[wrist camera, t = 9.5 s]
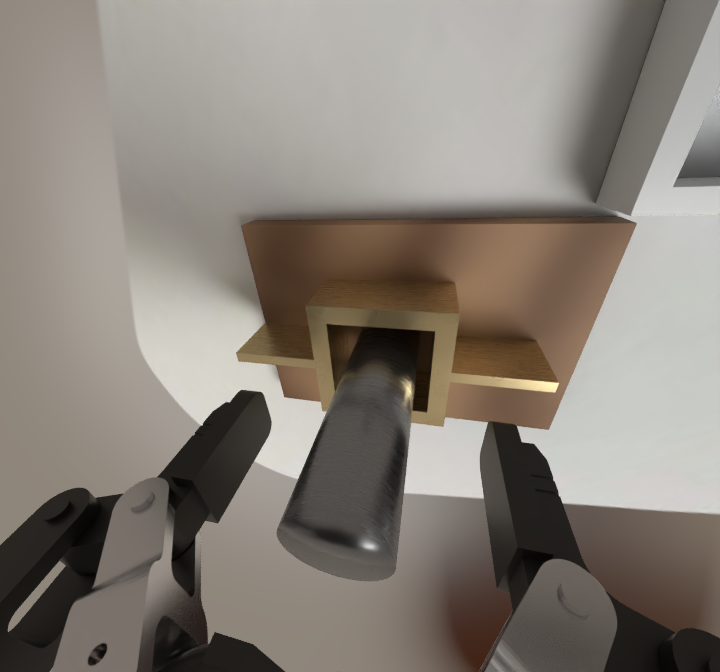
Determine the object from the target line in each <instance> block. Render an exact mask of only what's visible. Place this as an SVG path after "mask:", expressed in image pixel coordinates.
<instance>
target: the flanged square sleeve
mask: <svg viewBox="0 0 720 672" xmlns="http://www.w3.org/2000/svg"><path fill="white" fill-rule="evenodd" d="M305 307H306V313H307V319H308V325H295V324H281V323H266V322H265V324H264V325H263V326H262V327H261V328H260V329H259V330H258V331H257V332H256V333H255V334H254V335H253V336H252V337H251V338H250V339H249V340H248V341H247V342H246V343H245V344H244V345H243V346H242V347H241V348H240V349H239V350H238V351H237V352H236V354H237V357H238V360H239V361H242V362H252V363H262V364H272V365H282V366H292V367H303V368H313V369H316V374H317V380H318V386H319V392H320V398H321V405H322V411H327V410H328V408H329V405H330V403H331V400H332V398H333V396H334V393H335V391H336V389H337V386H338V384H339V382H340V379H341V377H342V374H343V372H344V370H345V367H346V365H347V363H348V360H349V358H350V353H349V341H348V329H347V325H348V326H363V327H378V328H393V329H409V330H424V331H432V340H431V351H430V361H429V372H424V371H416V380H415V390H414V399H413V409H412V418H411V423H419V424H427V425H434V426H442V427H443V426H444V419H445V412H446V405H447V398H448V392H449V385H450V382H453V383H463V384H473V385H484V386H494V387H504V388H514V389H524V390H534V391H544V392H554V393H555V392H556V389H557V387H558V384H559V382H558V380H557V378H556V376H555V374H554V372H553V370H552V369H551V367H550V365H549V363H548V361H547V359H546V357H545V355H544V353H543V351H542V349H541V348H540V346H539V344H538V342H537V341H531V340H516V339H502V338H487V337H472V336H458V335H457V330H458V324H459V317H460V311H459V304H458V297H457V291H456V284H455V283H447V282H416V281H386V280H355V279H327V280H326V281H325V282H324V284H323V285H322V286H321V287H320V288H319V290H318V291H317V292H316V293H315V295H314V296H313V297H312V298H311V299H310V301H309V302H308V303H307V304H306V305H305Z"/></svg>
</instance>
